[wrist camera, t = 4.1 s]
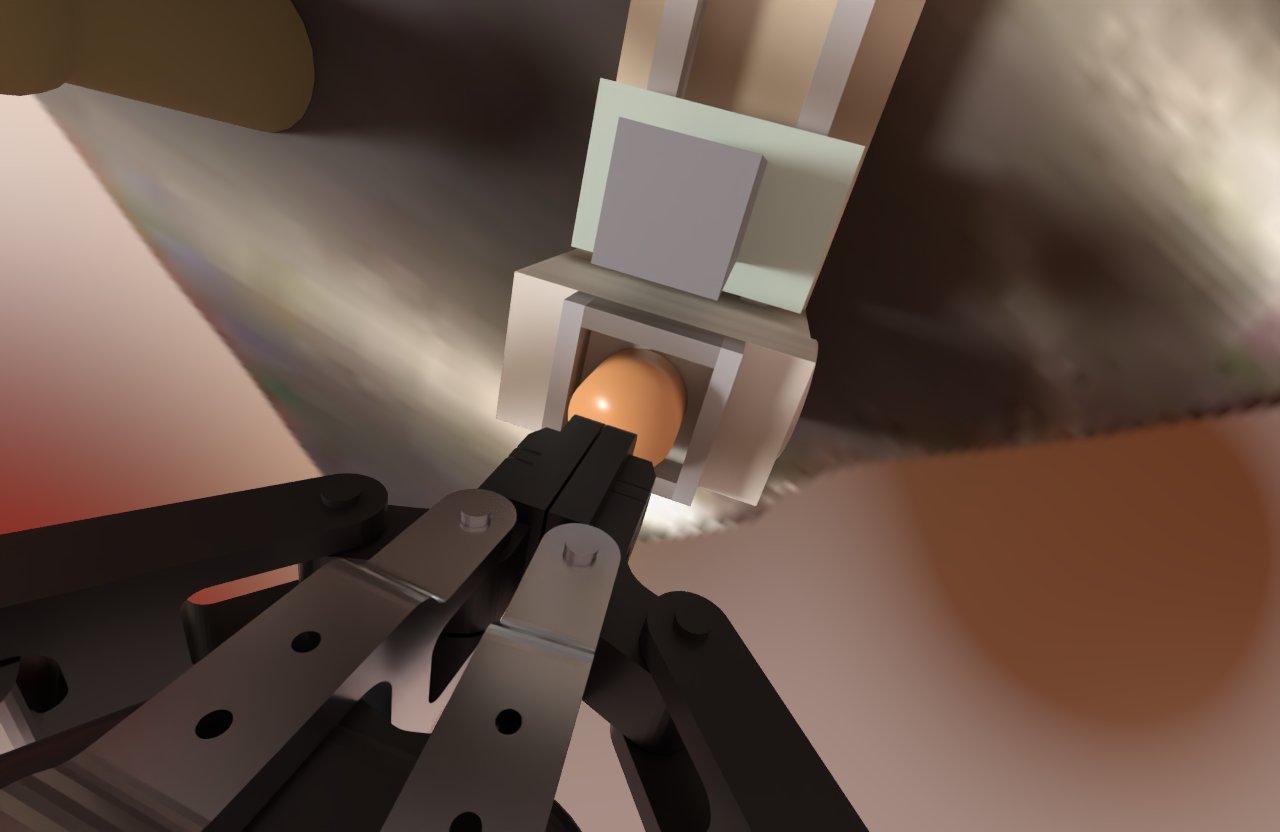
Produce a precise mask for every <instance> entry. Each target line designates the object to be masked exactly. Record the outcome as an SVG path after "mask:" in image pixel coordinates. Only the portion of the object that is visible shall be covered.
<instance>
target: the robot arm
mask: <svg viewBox="0 0 1280 832" xmlns="http://www.w3.org/2000/svg"><path fill="white" fill-rule="evenodd" d="M636 441H637V434H635V433H632V432H629V431H626V430H623V429H620V428H617V427H614V426H610V425H605V424H604V423H601V422H598V421H595V420H592V419H589V418H586V417H583V416H580V415H576V414H575V415H573V417H572V418H571V419H570V420H569V421H568V423H567V424H566V425H565V426H564V427H563V429H562V430H561V431H557V430H554V429H551V428H548V427H545V428H543V429H540V430H538V431H535V432H533V433H530V434H528V435H527V436H526V438H525V439H524V440H523V441H522V442H521V443H520V444H519V445H518V447H517V448H515V449H514V450H513V451H512V453H511V454H510V455H509V457H508V458H506V459H505V460H504V461H503V462H502V463H501V464H500V465H499V466H498V467H497V469H496V470H495V471H494V472H493V473H492V474H491V475H490V476H489V477H488V478H487V479H486V480H485V481H484V482H483V484H482V485H481V486H480V487H479V488H478V489H466V490H460V491H457V492H454V493H451V494H449V495H447V496H445V497H444V498H443V499H441V500H440V501H439V502H438V503H436V504H435V505H434V506H433V507H432V508H431V509H425V508H413V507H404V506H394V505H388V493H387V490H386V488H385V487H384V486H383V485H382V484H381V483H380V482H379V481H377V480H375V479H373V478H371V477H368V476H364V475H359V474H334V475H328V476H323V477H317V478H311V479H306V480H301V481H295V482H289V483H284V484H279V485H273V486H267V487H262V488H256V489H251V490H245V491H239V492H234V493H228V494H223V495H217V496H212V497H206V498H201V499H195V500H190V501H184V502H179V503H173V504H167V505H162V506H156V507H151V508H146V509H140V510H135V511H129V512H123V513H118V514H112V515H107V516H101V517H96V518H90V519H85V520H79V521H73V522H68V523H62V524H57V525H51V526H46V527H40V528H35V529H30V530H23V531H18V532H12V533H7V534H1V535H0V832H582V831H581V830H580V828H579V827H578V826H577V824H576V823H575V821H574V820H573V818H572V817H571V816H570V815H569V814H568V813H567V812H566V811H565V809H564V808H563V807H562V806H561V805H560V804H559V803H558V802H557V801H556V800H554V797H555V794H556V790H557V786H558V783H559V779H560V776H561V772H562V769H563V765H564V761H565V758H566V754H567V750H568V747H569V743H570V740H571V736H572V732H573V729H574V726H575V722H576V718H577V715H578V711H579V708H580V704H581V701H582V700H583V701H584V702H585V703H586V704H587V705H589V706H590V707H591V708H592V709H594V710H595V711H596V712H597V713H599V715H601V716H602V717H603V718H604V719H606V720H607V721H608V722H609V723H610V733H611V739H612V743H613V746H614V748H615V751H616V753H617V756H618V759H619V762H620V764H621V767H622V770H623V772H624V775H625V778H626V780H627V783H628V786H629V788H630V791H631V794H632V796H633V799H634V802H635V804H636V807H637V810H638V812H639V815H640V818H641V820H642V823H643V826H644V828H645V831H646V832H869V831H868V829H867V827H866V826H865V825H864V823H863V822H862V820H861V818H860V817H859V816H858V814H857V812H856V811H855V809H854V808H853V806H852V805H851V803H850V802H849V800H848V799H847V797H846V796H845V794H844V793H843V792H842V790H841V788H840V787H839V785H838V784H837V782H836V781H835V780H834V778H833V776H832V775H831V773H830V772H829V770H828V769H827V767H826V766H825V764H824V763H823V761H822V760H821V758H820V757H819V755H818V754H817V752H816V751H815V749H814V748H813V746H812V745H811V743H810V742H809V740H808V739H807V737H806V736H805V734H804V733H803V731H802V730H801V728H800V727H799V725H798V724H797V722H796V721H795V719H794V718H793V716H792V714H791V713H790V711H789V710H788V709H787V707H786V705H785V704H784V702H783V701H782V700H781V698H780V697H779V695H778V693H777V692H776V690H775V689H774V687H773V686H772V684H771V683H770V681H769V680H768V678H767V677H766V675H765V674H764V672H763V671H762V669H761V668H760V666H759V665H758V663H757V662H756V660H755V659H754V657H753V656H752V654H751V653H750V651H749V650H748V648H747V647H746V645H745V644H744V642H743V641H742V639H741V638H740V636H739V635H738V633H737V632H736V630H735V629H734V627H733V625H732V624H731V622H730V621H729V620H728V618H727V617H726V615H725V614H724V613H723V611H721V609H720V608H719V607H717V606H716V605H715V604H714V603H712V602H711V601H709V600H708V599H706V598H704V597H701V596H700V595H697V594H694V593H691V592H685V591H673V592H668V593H665V594H662V595H660V596H657V595H656V594H654V593H653V592H651V591H650V590H648V589H647V588H646V587H644V586H643V585H642V584H641V583H640V582H639V581H638V580H637V579H636V578H635V576H634V575H633V574H632V572H631V570H630V568H629V565H628V561H629V557H630V555H631V553H632V550H633V547H634V544H635V542H636V540H637V537H638V534H639V532H640V529H641V526H642V522H643V519H644V516H645V512H646V509H647V506H648V502H649V499H650V496H651V492H652V489H653V486H654V482H655V479H656V474H655V471H654V467H653V464H652V462H651V461H648V460H645V459H642V458H639V457H636V456H633V453H634V449H635V445H636ZM294 564H298V572H299V580H296V581H292V582H289V583H285V584H282V585H278V586H274V587H271V588H267V589H264V590H260V591H256V592H253V593H250V594H246V595H242V596H239V597H235V598H232V599H228V600H224V601H221V602H217V603H213V604H208V605H199V604H193V603H191V602H189V601H188V600H187V599H188V597H190V596H191V595H193V594H194V593H196V592H198V591H200V590H202V589H204V588H208V587H211V586H215V585H219V584H223V583H226V582H230V581H234V580H238V579H241V578H245V577H249V576H252V575H257V574H260V573H264V572H268V571H272V570H276V569H279V568H283V567H287V566H291V565H294ZM506 609H507V610H506ZM505 611H506V612H505ZM504 612H505V614H504ZM503 614H504V616H503ZM502 616H503V618H502V620H501V621H500V619H501V617H502ZM446 704H447V705H446ZM445 705H446V707H445ZM444 707H445V709H444V711H443V712H442V715H441V716H440V718H439V720H438V722H437V724H436V726H435V728H434V730H433V732H432V733H431V734H429V731H430V729H431V727H432V725H433V723H434V722H435V720H436V718H437V717H438V715H439V714H440V712H441V711H442V710H443V708H444Z"/></svg>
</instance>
